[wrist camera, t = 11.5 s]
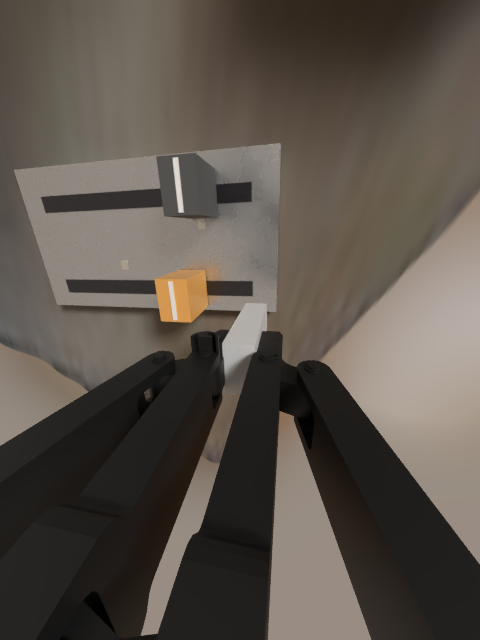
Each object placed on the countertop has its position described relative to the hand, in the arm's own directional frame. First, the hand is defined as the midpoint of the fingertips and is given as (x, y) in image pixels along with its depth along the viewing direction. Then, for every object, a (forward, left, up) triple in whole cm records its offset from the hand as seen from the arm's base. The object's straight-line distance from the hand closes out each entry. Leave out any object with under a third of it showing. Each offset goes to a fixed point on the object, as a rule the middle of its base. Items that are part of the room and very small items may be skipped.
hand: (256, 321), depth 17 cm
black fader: (-9, -6, -8) cm, 14 cm away
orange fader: (0, -8, -8) cm, 11 cm away
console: (-5, -13, -10) cm, 17 cm away
